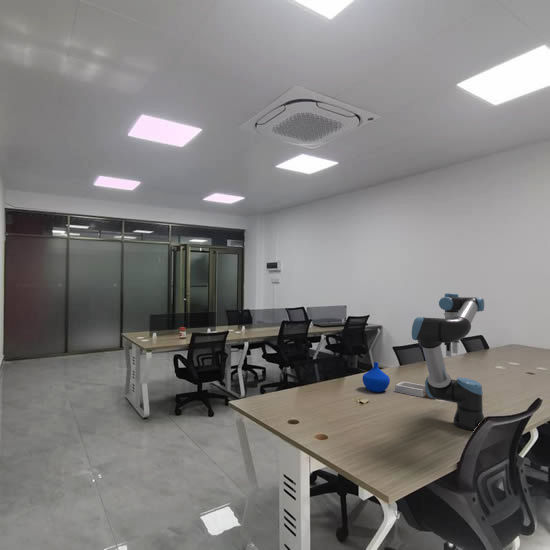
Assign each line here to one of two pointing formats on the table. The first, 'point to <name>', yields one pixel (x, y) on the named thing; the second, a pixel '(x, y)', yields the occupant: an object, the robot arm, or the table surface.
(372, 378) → the vase
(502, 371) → the table surface
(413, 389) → the lane
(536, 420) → the table surface
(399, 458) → the table surface
